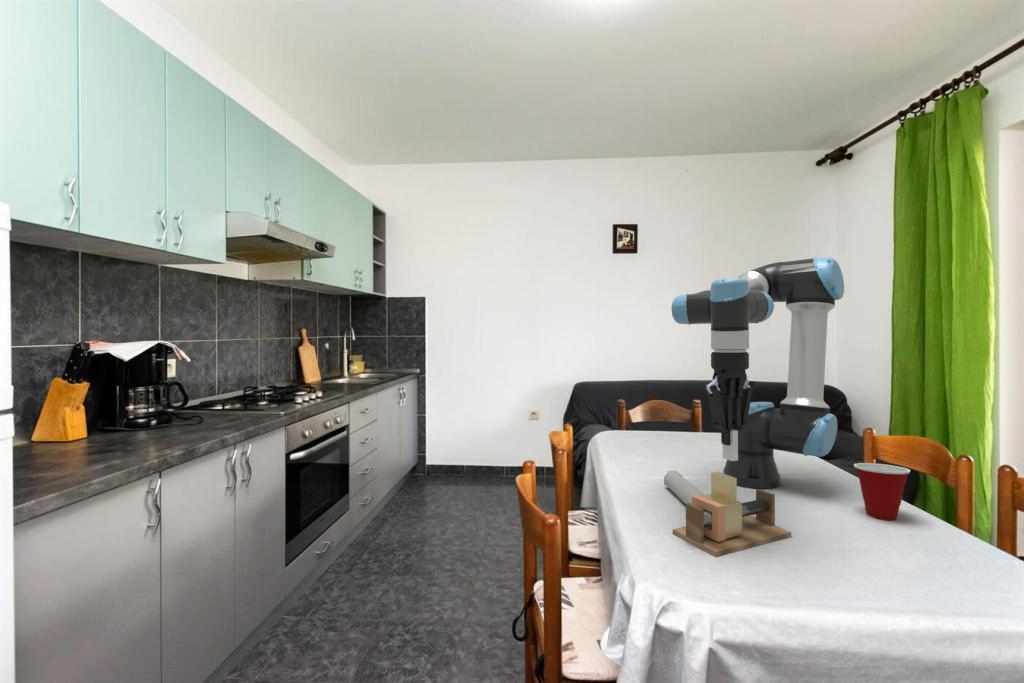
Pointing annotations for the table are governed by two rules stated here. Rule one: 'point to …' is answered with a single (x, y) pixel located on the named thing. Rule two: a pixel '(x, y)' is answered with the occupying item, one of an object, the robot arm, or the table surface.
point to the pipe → (743, 510)
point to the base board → (752, 535)
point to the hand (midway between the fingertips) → (730, 459)
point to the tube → (680, 486)
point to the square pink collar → (718, 517)
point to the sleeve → (727, 502)
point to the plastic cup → (882, 488)
